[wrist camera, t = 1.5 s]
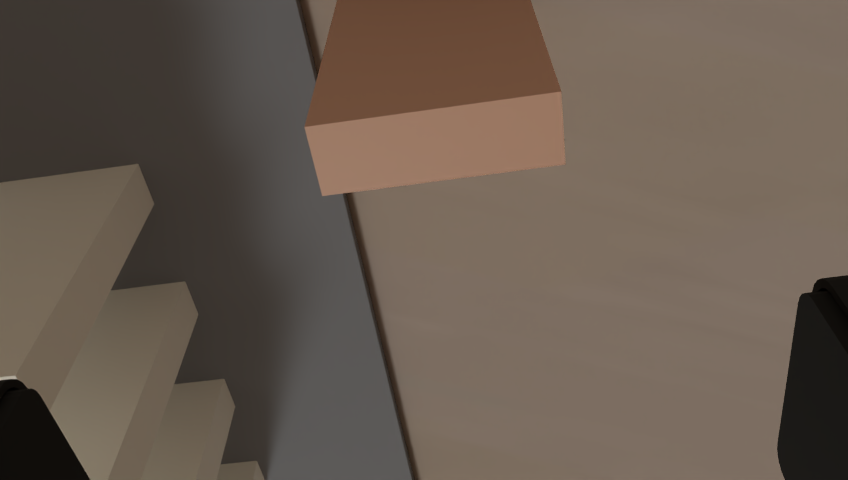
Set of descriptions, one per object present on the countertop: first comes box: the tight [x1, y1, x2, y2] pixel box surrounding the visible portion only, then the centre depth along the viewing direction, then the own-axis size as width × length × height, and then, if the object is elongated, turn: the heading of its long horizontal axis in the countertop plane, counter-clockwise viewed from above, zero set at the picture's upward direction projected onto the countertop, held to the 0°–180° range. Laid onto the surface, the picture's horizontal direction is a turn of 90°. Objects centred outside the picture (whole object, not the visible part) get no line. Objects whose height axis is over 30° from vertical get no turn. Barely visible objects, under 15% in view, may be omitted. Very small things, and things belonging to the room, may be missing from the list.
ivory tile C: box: [50, 281, 198, 480], centre depth 27 cm, size 5×2×10 cm, turn 99°
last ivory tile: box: [0, 164, 154, 411], centre depth 24 cm, size 5×2×10 cm, turn 99°
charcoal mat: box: [0, 0, 414, 480], centre depth 32 cm, size 17×33×1 cm, turn 9°
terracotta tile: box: [304, 0, 565, 196], centre depth 20 cm, size 5×2×10 cm, turn 98°
